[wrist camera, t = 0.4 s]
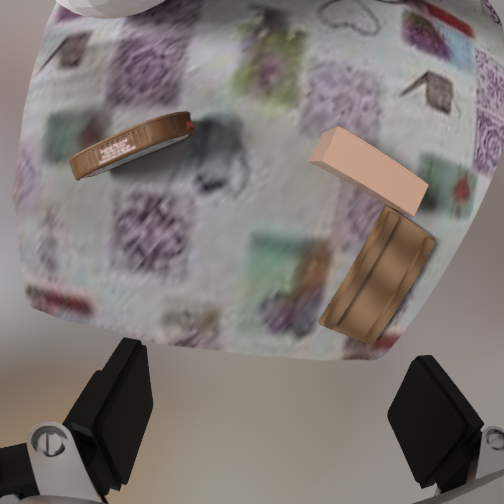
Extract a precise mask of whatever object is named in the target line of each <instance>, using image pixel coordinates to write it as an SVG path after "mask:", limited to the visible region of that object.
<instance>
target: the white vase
mask: <svg viewBox="0 0 504 504" xmlns="http://www.w3.org/2000/svg"><path fill="white" fill-rule="evenodd" d="M56 1H57V2H58V3H59V4H60V5H62V6H64V7H66V8H67V9H69V10H71V11H72V12H74V13H77V14H80V15H83V16H87V17H93V18H99V19H113V18H121V17H126V16H131V15H135V14H138V13H141V12H144V11H146V10H148V9H150V8H152V7H154V6H156V5H158V4H160V3H162V2H164V1H165V0H56Z"/></svg>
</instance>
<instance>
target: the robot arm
mask: <svg viewBox="0 0 504 504" xmlns="http://www.w3.org/2000/svg"><path fill="white" fill-rule="evenodd" d="M382 1H390V2H395V1H400V0H382ZM152 408H153V398H152V390H151V383H150V375H149V366H148V357H147V347H146V346H145V345H142V343H141V341H140V340H136V339H131V338H123V339H122V340H121V342H120V343H119V345H118V346H117V348H116V349H115V351H114V352H113V354H112V356H111V357H110V359H109V360H108V362H107V363H106V365H105V367H104V368H103V370H102V371H101V370H98V371H96V372H95V373H94V374H93V376H92V377H91V379H90V380H89V382H88V384H87V385H86V387H85V388H84V390H83V391H82V393H81V394H80V396H79V398H78V399H77V401H76V402H75V404H74V406H73V407H72V409H71V410H70V412H69V414H68V415H67V417H66V419H65V420H64V422H63V424H62V425H61V424H59V423H55V422H43V423H40V424H38V425H36V426H34V427H33V428H32V429H31V430H30V432H29V433H28V436H27V443H23V444H18V445H14V446H9V447H4V448H0V504H109V502H108V500H107V498H106V496H105V495H107V494H108V493H109V490H110V488H111V489H114V490H117V491H120V488H121V485H122V484H124V485H126V484H127V483H128V480H129V477H130V474H131V471H132V468H133V465H134V462H135V459H136V456H137V453H138V450H139V447H140V444H141V441H142V438H143V435H144V433H145V430H146V426H147V424H148V421H149V418H150V415H151V412H152ZM387 415H388V420H389V422H390V424H391V427H392V429H393V431H394V433H395V435H396V438H397V440H398V442H399V444H400V446H401V449H402V451H403V453H404V455H405V458H406V460H407V462H408V465H409V467H410V469H411V472H412V474H413V476H414V479H415V481H416V482H418V483H419V484H420V486H421V488H422V489H423V488H426V487H429V486H432V485H434V484H435V483H437V489H436V492H435V494H434V497H431V498H428V499H425V500H423V501H419V502H416V503H413V504H504V430H503V429H502V428H500V427H496V426H489V427H487V428H486V429H485V430H484V431H483V432H481V430H480V429H481V428H482V426H483V425H484V422H483V421H482V420H481V418H480V417H479V415H478V414H477V413H476V411H475V410H474V409H473V407H472V406H471V405H470V403H469V402H468V401H467V399H466V398H465V397H464V395H463V394H462V393H461V392H460V390H459V389H458V387H457V386H456V385H455V384H454V382H453V381H452V380H451V378H450V377H449V376H448V375H447V373H446V372H445V371H444V370H443V368H442V367H441V366H440V365H439V363H438V362H437V361H436V360H435V358H434V357H433V356H432V355H424V356H417V357H416V358H415V360H413V361H412V362H411V364H410V366H409V369H408V371H407V373H406V376H405V377H404V380H403V382H402V384H401V386H400V388H399V390H398V392H397V394H396V396H395V398H394V401H393V402H392V404H391V406H390V408H389V410H388V414H387Z"/></svg>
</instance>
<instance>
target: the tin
mask: <svg viewBox="0 0 504 504" xmlns="http://www.w3.org/2000/svg"><path fill="white" fill-rule="evenodd" d="M193 133H194V128H193V124H192V121H191V118H190V112H186V111H185V112H176V113H171V114H167V115H163V116H160V117H157V118H154V119H151V120H148V121H146V122H143V123H140V124H138V125H136V126H133V127H131V128H129V129H127V130H124V131H122V132H120V133H118V134H115V135H113V136H111V137H109V138H107V139H105V140H103V141H101V142H99V143H97V144H95V145H93V146H91V147H89V148H87V149H85V150H83V151H81V152H79V153H78V154H76V155H75V156H73V157H72V158H71V159H70V160H69V163H70V165H71V168H72V171H73V174H74V177H75V179H76V180H80V179H81V178H85V177H92V176H95V175H98V174H100V173H103V172H105V171H108V170H110V169H113V168H115V167H117V166H120V165H122V164H124V163H127V162H129V161H132V160H134V159H137V158H140V157H142V156H145V155H147V154H150V153H152V152H155V151H157V150H160V149H162V148H165V147H168V146H170V145H173V144H175V143H178V142H180V141H183V140H185V139H187V138H189V137H191V136H192V135H193Z"/></svg>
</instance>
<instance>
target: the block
mask: <svg viewBox="0 0 504 504" xmlns="http://www.w3.org/2000/svg"><path fill="white" fill-rule="evenodd" d="M309 162H311V163H312V164H314V165H316V166H318V167H320V168H322V169H324V170H326V171H328V172H329V173H331V174H333V175H335V176H337V177H339V178H340V179H342V180H344V181H346V182H347V183H349V184H351V185H353V186H354V187H356V188H358V189H360V190H361V191H363V192H365V193H366V194H368V195H370V196H372V197H373V198H375V199H377V200H378V201H380V202H381V203H383V204H385V205H386V206H388V207H390V208H393V209H396V210H398V211H401V212H404V213H406V214H409V215H411V216H414V215H415V213H416V211H417V209H418V207H419V205H420V203H421V201H422V199H423V196H424V194H425V192H426V190H427V188H428V184H427V183H425V182H424V181H423V180H421V179H420V178H419V177H417V176H416V175H415V174H413V173H412V172H410V171H409V170H408V169H406V168H405V167H403V166H402V165H400V164H399V163H397V162H396V161H394V160H393V159H391V158H390V157H388V156H387V155H385V154H384V153H382V152H381V151H379V150H378V149H376V148H374V147H373V146H371V145H370V144H368V143H366V142H365V141H363V140H361V139H360V138H358V137H356V136H355V135H353V134H351V133H350V132H348V131H346V130H345V129H343V128H341V127H339V126H338V127H335V128H333V129H330V130H328V131H325V132H323V133H322V135H321V137H320V139H319V141H318V143H317V145H316V147H315V149H314V151H313V153H312V155H311V157H310V159H309Z"/></svg>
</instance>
